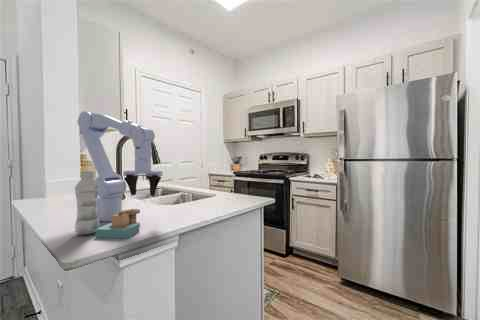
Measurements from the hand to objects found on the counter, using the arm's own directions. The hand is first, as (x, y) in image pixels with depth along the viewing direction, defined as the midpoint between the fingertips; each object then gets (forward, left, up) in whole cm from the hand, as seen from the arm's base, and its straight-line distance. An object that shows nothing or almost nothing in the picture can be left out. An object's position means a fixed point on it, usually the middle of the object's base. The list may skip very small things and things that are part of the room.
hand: (143, 195), depth 84 cm
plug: (-1, -12, -10) cm, 16 cm away
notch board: (-1, -13, -10) cm, 17 cm away
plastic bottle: (-11, -14, -11) cm, 21 cm away
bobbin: (-2, -6, -10) cm, 12 cm away
